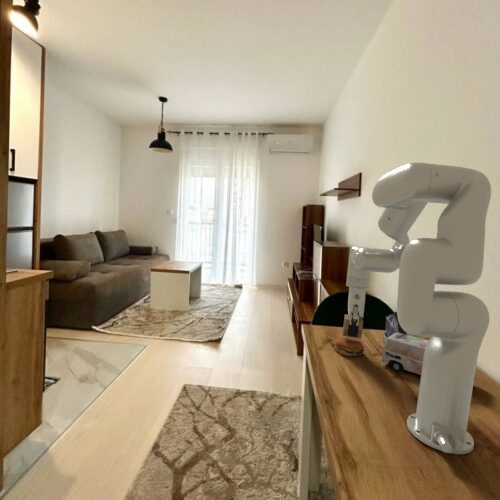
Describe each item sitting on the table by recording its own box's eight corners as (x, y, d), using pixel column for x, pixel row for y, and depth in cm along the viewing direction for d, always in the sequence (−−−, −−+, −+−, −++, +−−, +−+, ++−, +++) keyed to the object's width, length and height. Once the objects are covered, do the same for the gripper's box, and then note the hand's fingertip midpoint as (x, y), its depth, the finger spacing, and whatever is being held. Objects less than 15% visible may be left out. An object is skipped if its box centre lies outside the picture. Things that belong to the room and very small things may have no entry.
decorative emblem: (403, 359, 112) (408, 316, 110) (396, 358, 112) (401, 316, 110) (389, 346, 123) (393, 307, 122) (382, 345, 123) (387, 307, 122)
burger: (329, 351, 114) (331, 338, 114) (341, 345, 121) (343, 332, 121) (356, 360, 108) (358, 347, 107) (367, 353, 114) (369, 341, 114)
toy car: (470, 397, 89) (475, 362, 88) (378, 366, 105) (382, 336, 104) (474, 384, 97) (479, 352, 96) (389, 357, 113) (392, 329, 112)
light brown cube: (361, 338, 110) (363, 321, 109) (342, 335, 111) (344, 318, 111) (360, 333, 115) (362, 316, 115) (343, 330, 117) (344, 314, 117)
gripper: (371, 288, 102) (364, 343, 104) (367, 280, 119) (362, 327, 121) (346, 285, 104) (340, 339, 106) (346, 277, 121) (341, 324, 123)
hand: (352, 332), depth 113 cm, fingers closed on light brown cube, 6 cm apart
